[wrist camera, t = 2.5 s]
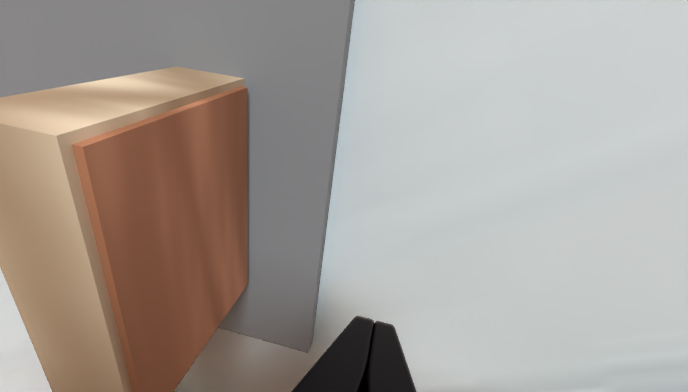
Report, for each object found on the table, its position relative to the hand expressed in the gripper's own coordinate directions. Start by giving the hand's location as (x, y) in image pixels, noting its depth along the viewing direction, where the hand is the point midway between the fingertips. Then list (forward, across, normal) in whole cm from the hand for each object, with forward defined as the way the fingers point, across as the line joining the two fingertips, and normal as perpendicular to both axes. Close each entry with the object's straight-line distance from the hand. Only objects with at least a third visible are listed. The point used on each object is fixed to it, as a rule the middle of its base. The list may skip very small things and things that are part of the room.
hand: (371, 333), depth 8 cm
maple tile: (+4, +6, 0) cm, 8 cm away
